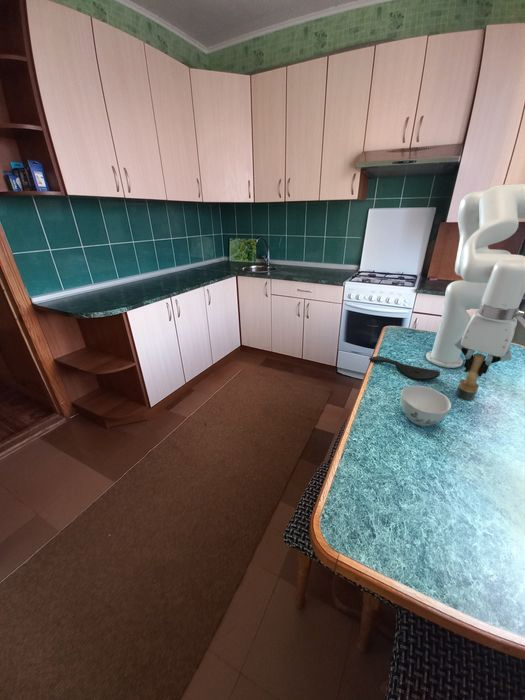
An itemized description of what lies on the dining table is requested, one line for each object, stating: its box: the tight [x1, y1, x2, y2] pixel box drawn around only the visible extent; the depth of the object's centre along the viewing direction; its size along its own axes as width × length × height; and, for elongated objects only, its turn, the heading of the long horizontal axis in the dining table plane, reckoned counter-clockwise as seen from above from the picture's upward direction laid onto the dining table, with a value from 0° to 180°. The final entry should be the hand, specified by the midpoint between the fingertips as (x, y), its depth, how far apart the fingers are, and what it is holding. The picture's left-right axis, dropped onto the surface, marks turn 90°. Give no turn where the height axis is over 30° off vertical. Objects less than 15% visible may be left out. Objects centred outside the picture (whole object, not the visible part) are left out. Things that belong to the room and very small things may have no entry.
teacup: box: [400, 385, 452, 427], centre depth 84 cm, size 15×12×8 cm
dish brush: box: [455, 352, 487, 402], centre depth 83 cm, size 5×5×14 cm
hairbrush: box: [368, 356, 441, 381], centre depth 109 cm, size 8×4×25 cm
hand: (473, 371), depth 82 cm, fingers closed on dish brush, 2 cm apart
